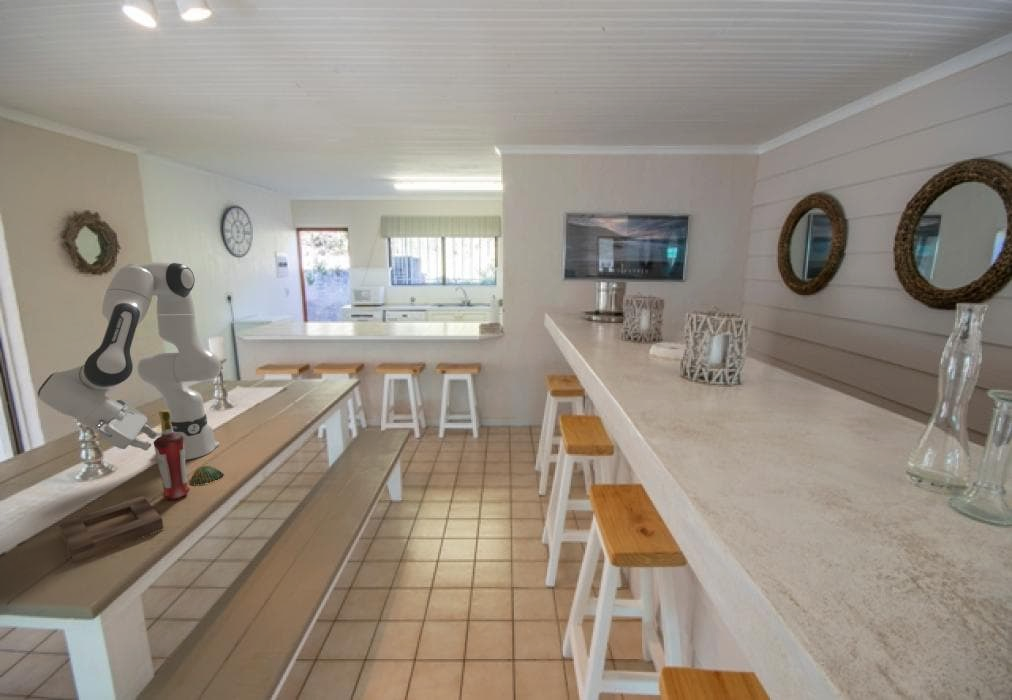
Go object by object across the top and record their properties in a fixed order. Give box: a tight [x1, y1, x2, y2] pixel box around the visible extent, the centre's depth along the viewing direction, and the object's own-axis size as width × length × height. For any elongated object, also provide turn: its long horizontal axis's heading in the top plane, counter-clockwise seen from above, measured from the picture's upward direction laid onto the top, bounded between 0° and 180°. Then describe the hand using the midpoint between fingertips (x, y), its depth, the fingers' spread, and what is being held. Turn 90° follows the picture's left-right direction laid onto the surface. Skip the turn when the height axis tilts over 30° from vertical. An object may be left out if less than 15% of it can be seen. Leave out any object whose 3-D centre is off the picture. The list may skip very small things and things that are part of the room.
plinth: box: [59, 495, 164, 564], centre depth 121 cm, size 18×18×4 cm
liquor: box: [153, 409, 190, 501], centre depth 137 cm, size 7×7×28 cm
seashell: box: [188, 465, 225, 486], centre depth 151 cm, size 10×4×10 cm
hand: (152, 442), depth 134 cm, fingers open, 8 cm apart
